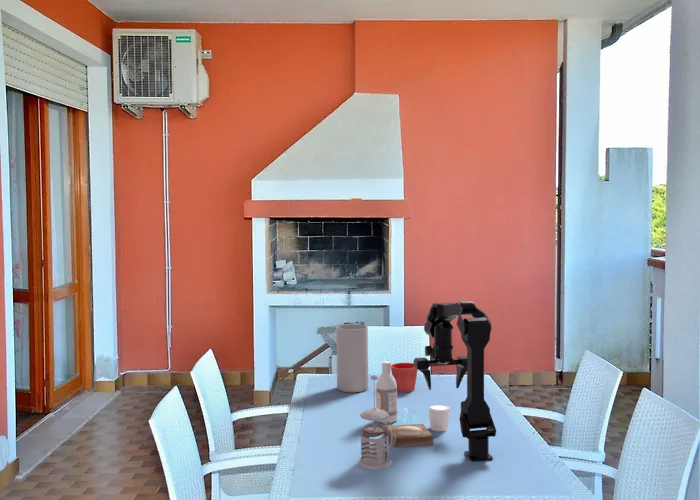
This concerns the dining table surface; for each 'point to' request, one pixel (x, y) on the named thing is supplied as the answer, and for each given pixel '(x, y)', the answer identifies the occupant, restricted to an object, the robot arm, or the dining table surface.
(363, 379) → the cylinder vase
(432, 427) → the white cup
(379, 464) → the french press
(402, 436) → the walnut plinth
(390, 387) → the bath foam
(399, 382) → the flower pot
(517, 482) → the dining table surface
